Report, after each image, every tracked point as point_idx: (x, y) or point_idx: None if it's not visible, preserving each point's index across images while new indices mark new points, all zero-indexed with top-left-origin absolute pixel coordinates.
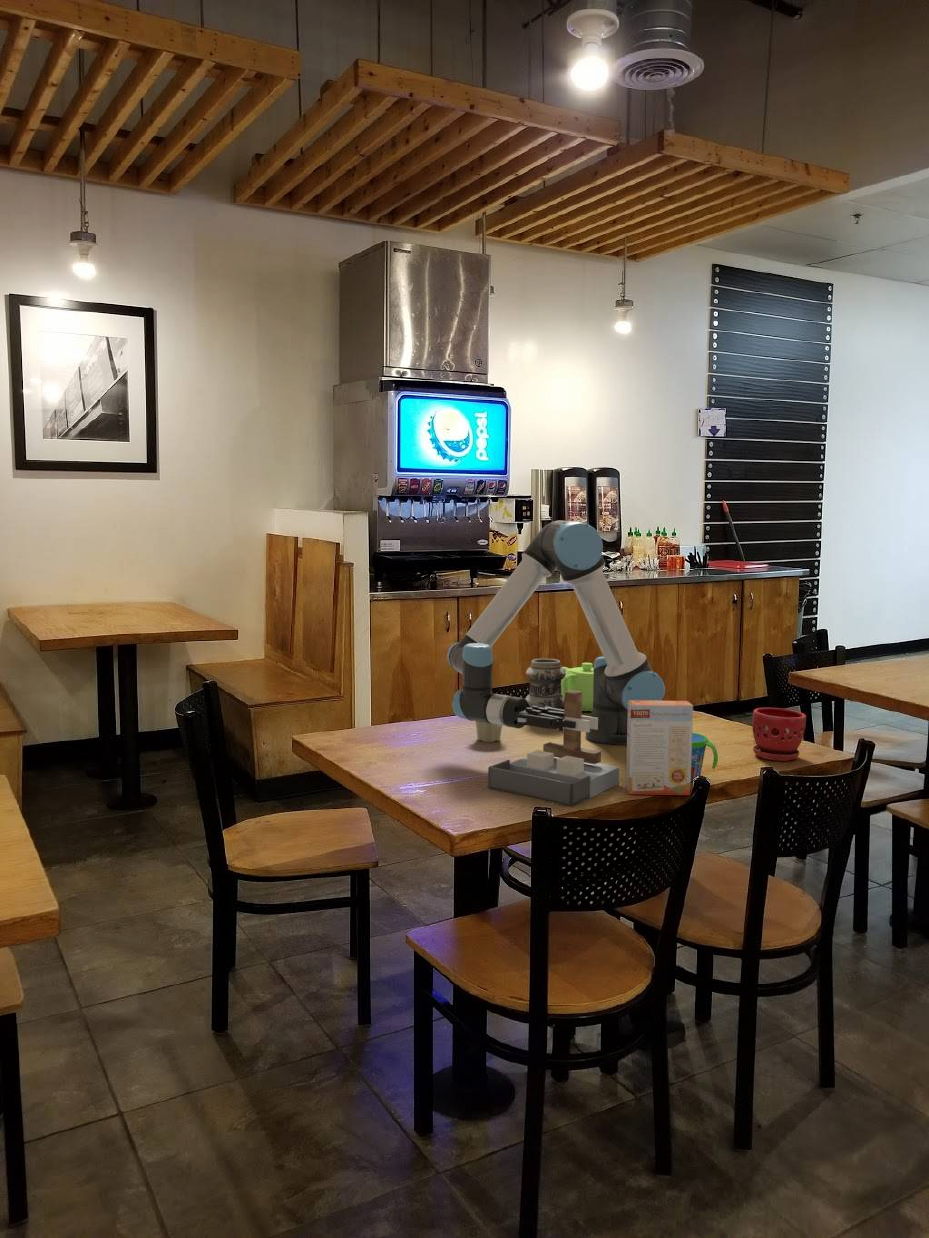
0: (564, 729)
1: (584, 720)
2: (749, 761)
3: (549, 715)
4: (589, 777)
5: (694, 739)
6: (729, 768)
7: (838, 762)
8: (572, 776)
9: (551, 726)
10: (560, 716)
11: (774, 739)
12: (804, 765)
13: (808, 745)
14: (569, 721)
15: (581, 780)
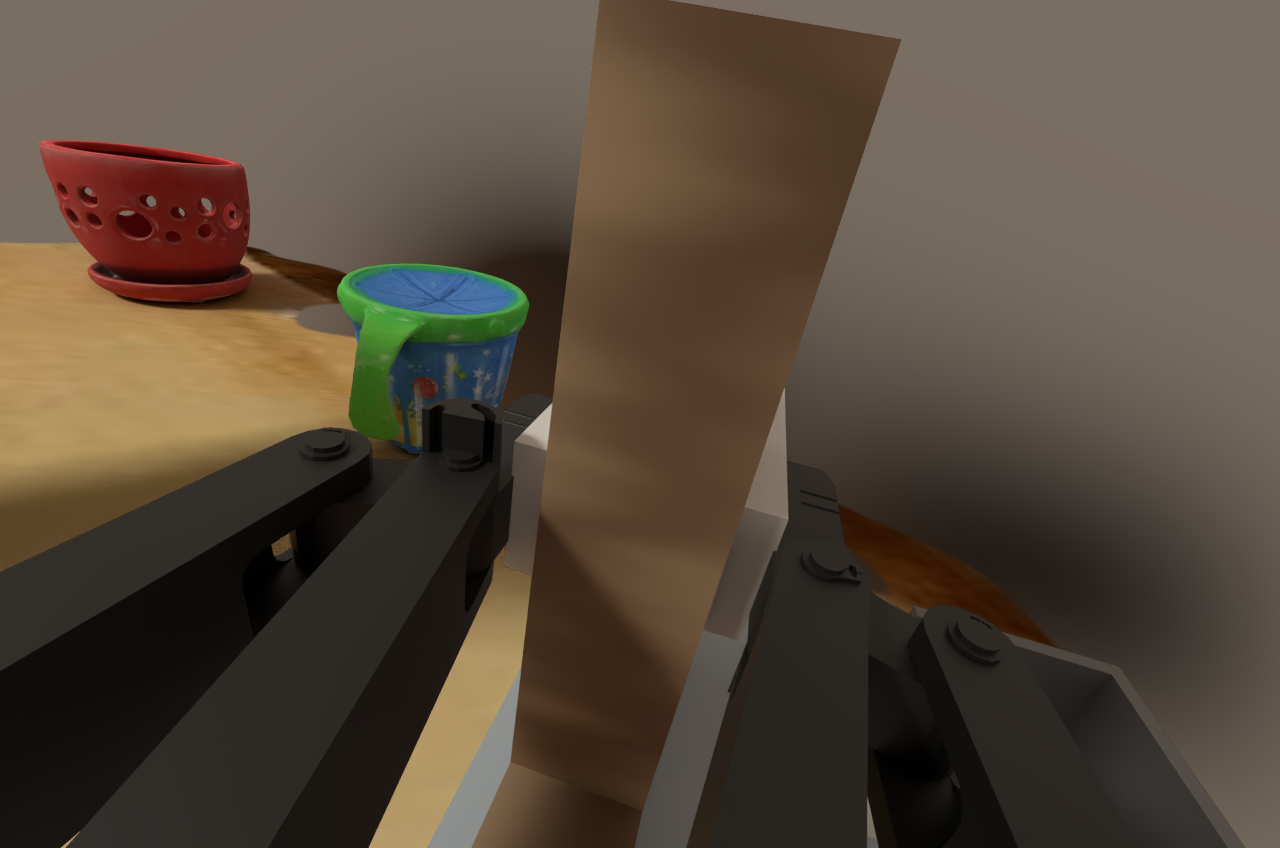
0: (690, 659)
1: (783, 392)
2: (221, 321)
3: (801, 801)
4: (920, 612)
5: (436, 286)
6: (305, 354)
7: (266, 257)
8: None
9: (925, 785)
10: (419, 659)
11: (235, 236)
12: (287, 282)
13: (63, 245)
14: (812, 501)
15: (1011, 637)
